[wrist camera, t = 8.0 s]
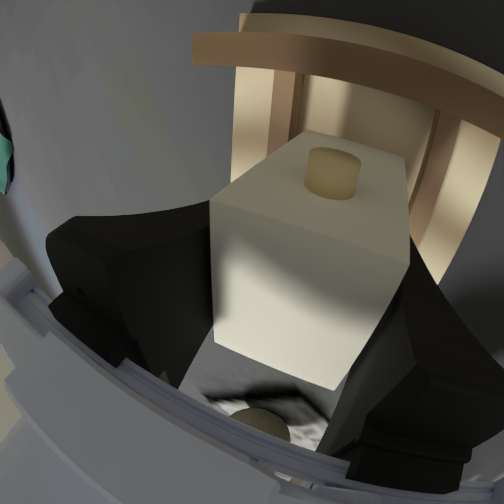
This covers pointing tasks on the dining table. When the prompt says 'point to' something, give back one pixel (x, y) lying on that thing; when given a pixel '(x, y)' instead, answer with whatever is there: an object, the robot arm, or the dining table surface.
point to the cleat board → (368, 109)
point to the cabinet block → (309, 254)
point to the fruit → (263, 423)
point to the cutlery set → (5, 161)
